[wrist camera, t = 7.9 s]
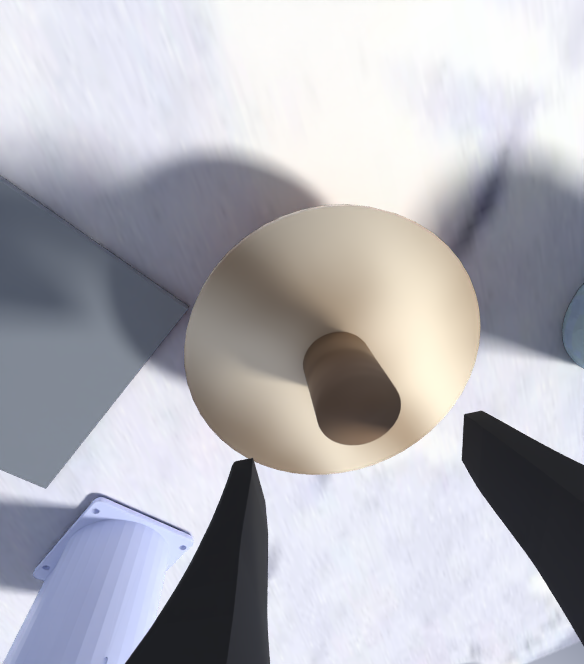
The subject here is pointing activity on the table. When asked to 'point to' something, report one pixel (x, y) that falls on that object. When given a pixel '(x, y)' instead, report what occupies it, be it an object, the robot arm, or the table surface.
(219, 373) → the lid
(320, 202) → the table surface
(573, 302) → the green plant pot
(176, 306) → the mat
